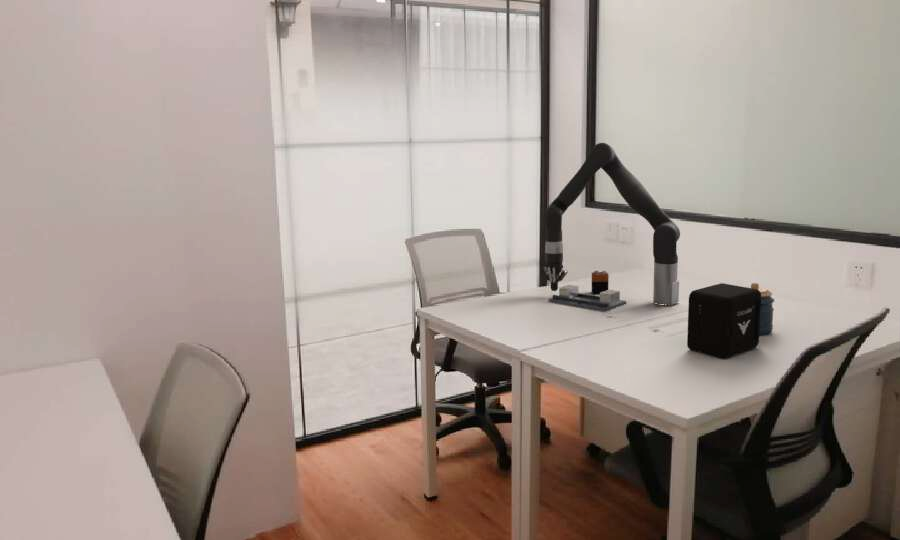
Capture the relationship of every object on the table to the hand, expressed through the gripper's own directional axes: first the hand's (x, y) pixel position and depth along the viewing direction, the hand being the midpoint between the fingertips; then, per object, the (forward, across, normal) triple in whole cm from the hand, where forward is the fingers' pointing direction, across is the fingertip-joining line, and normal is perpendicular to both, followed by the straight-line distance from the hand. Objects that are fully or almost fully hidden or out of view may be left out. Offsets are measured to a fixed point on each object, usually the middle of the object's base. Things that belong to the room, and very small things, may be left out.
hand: (554, 290), depth 314 cm
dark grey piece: (+3, -17, 0) cm, 17 cm away
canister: (+3, -86, 0) cm, 86 cm away
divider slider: (+1, -8, +2) cm, 8 cm away
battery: (+3, -12, -18) cm, 22 cm away
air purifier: (+3, -87, +26) cm, 91 cm away
